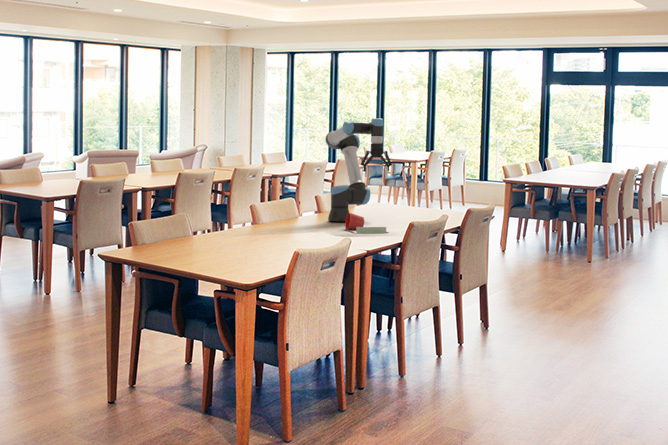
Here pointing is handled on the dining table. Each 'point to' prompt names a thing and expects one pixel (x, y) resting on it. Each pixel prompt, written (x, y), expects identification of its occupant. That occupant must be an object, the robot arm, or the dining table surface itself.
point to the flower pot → (353, 221)
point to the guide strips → (354, 232)
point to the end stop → (370, 229)
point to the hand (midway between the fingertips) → (376, 176)
